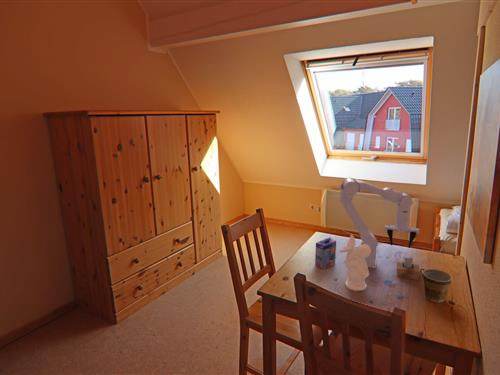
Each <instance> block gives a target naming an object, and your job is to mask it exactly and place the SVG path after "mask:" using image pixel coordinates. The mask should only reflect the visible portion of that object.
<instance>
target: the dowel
mask: <svg viewBox="0 0 500 375" xmlns="http://www.w3.org/2000/svg"><path fill="white" fill-rule="evenodd" d="M413 258H414V257H412V256H408V255H405V256H404V260H403V261H404V267H406V268H412V262H413Z"/></svg>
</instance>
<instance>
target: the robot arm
mask: <svg viewBox="0 0 500 375" xmlns="http://www.w3.org/2000/svg"><path fill="white" fill-rule="evenodd" d="M364 191H365V192H368V193H372V194H375V195H377V196H380V198H381V199H382V200H384V201H388V202H389V203H392V204H396V208H395V209H396V211H395V221H394V222H395V224H393V225H386V224H385V225H384V231H386V233H387V236H388V238H389V241H390V246H393V238H394V237H393V236H394V235H393V234H394V232H401V233H409V239H408V245H407V246H408V248H411V246H412V244H413V242H414V240H415V239H416V237H417V235H419V234H420V228H415V227H411V226H410V218H411V217H410V216H411V207H412V206H413V204H414V202H413V198H412V197H411V196H410V195H409V194H407V193H405V192H404V191H401V190H400V191H398V190H395V189H394V188H393V187H391V186H389V187H384V188H381V187H379V186H377V185H374V184H371V183H369V182H366V181H363V180H360V179H357V178H353V177H346V178H344V179H343V180H342V182H341V184H340V191H339V192H340V193H339V194H340V196H339V201H340V203H341V205H342V207H343V208H344V210H345V212H346V213H347V215H348V216H349V217H348V218H350V220H351V222H352V223H353V225H354V227H355V229H356V230H357V232H358V233H359V235H360V236H359V237H360V239H361V241H362V242H361V243H360V244H356V245H355V247H357V246H360V245H363V244H367V245H369V247H370V249H371V252H370V255H369V256H368V257H366V258H365V260H366V263H367V267H368V268H371V269H377V247H378V244H379V242H378V240H377V238H376V237H375V236H374V234H373V232H372V231H370V230H369V228H368V227H367V226H366V224H365V222H364V220H363V218H362V216H361V215H360V214H359V211H358V210H357V208H356V207H355V205H354V203H353V199H354V197H355V195H356V194H357V193H361V192H364Z"/></svg>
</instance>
